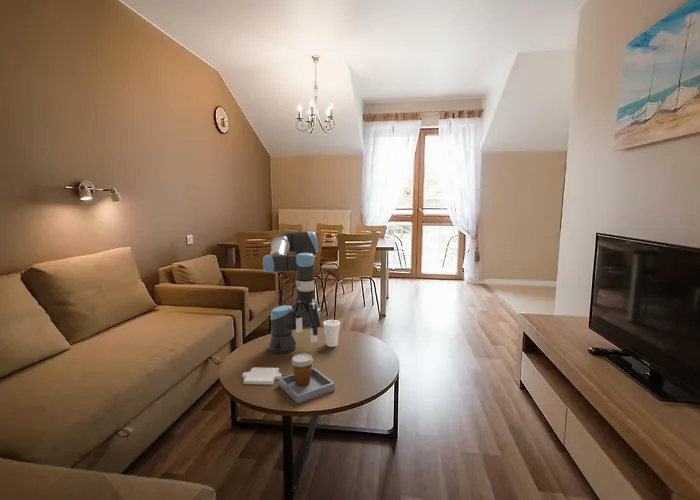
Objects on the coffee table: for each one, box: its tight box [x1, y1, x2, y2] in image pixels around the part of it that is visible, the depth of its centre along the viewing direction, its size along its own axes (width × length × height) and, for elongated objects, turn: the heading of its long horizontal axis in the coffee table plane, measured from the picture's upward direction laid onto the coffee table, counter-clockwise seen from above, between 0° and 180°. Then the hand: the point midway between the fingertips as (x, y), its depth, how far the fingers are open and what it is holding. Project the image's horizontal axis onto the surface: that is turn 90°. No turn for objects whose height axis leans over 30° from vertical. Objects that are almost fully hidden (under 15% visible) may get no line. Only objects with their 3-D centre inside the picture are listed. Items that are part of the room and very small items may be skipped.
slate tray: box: [278, 367, 336, 405], centre depth 159 cm, size 18×18×4 cm
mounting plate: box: [242, 366, 282, 385], centre depth 169 cm, size 18×13×2 cm
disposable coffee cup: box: [291, 353, 314, 386], centre depth 161 cm, size 10×10×12 cm
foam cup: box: [322, 319, 341, 348], centre depth 206 cm, size 10×9×13 cm
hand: (306, 336), depth 158 cm, fingers open, 13 cm apart
